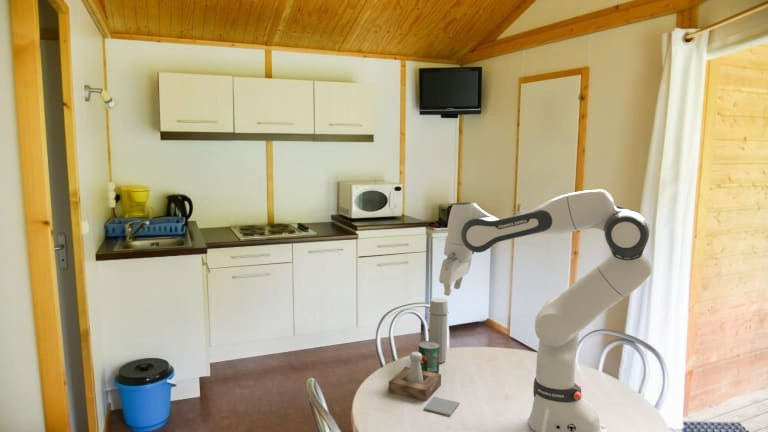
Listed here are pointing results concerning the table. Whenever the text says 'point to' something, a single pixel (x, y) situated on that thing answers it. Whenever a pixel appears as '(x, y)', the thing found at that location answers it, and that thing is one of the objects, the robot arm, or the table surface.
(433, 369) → the canned tomato
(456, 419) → the table surface
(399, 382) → the socket block
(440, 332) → the water bottle
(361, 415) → the table surface
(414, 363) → the salt shaker
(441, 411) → the coaster
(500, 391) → the table surface
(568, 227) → the robot arm
